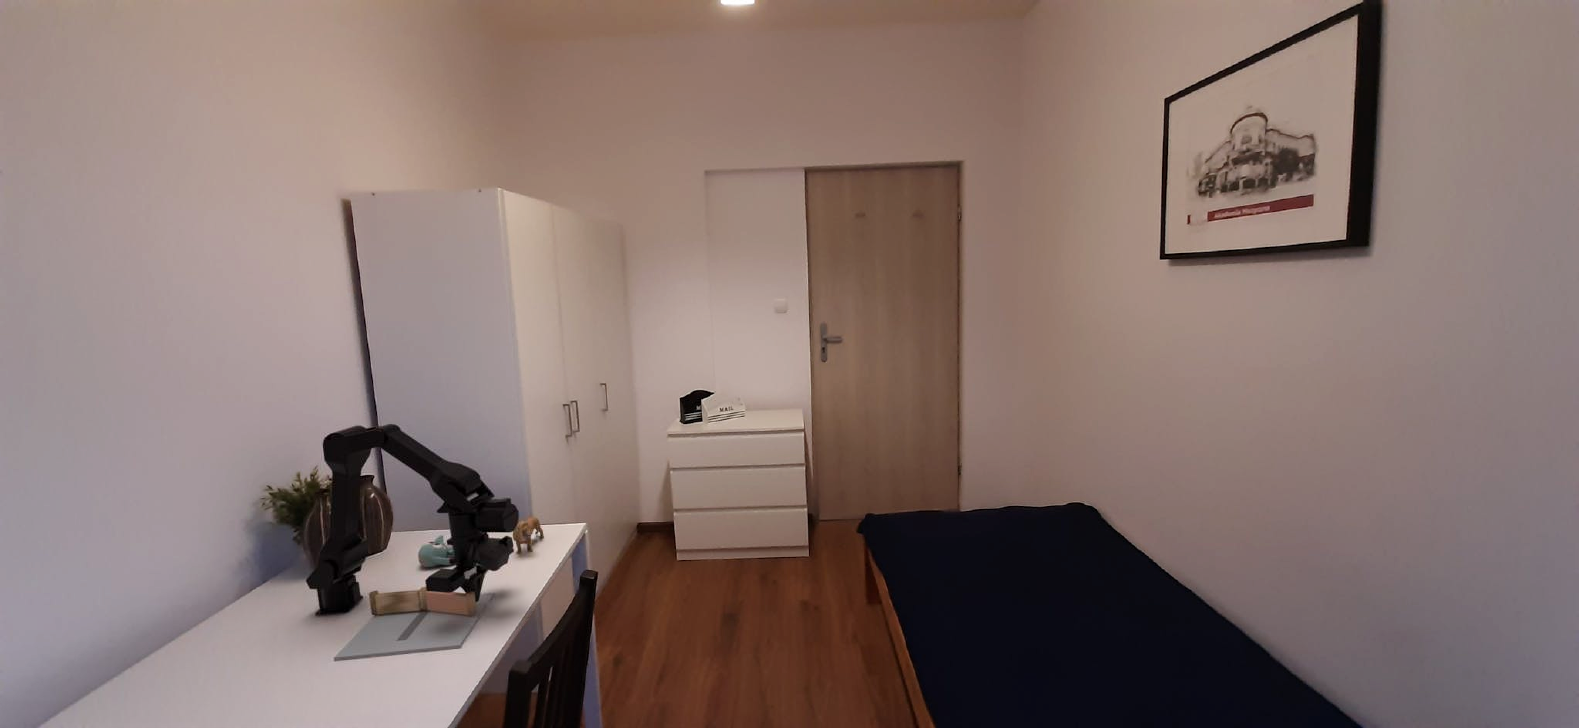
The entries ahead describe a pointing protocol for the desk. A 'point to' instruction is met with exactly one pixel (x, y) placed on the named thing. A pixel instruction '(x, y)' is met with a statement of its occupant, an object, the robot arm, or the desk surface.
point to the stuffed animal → (435, 553)
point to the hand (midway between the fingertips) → (475, 601)
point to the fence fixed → (395, 601)
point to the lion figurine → (526, 533)
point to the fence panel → (449, 602)
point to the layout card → (413, 632)
